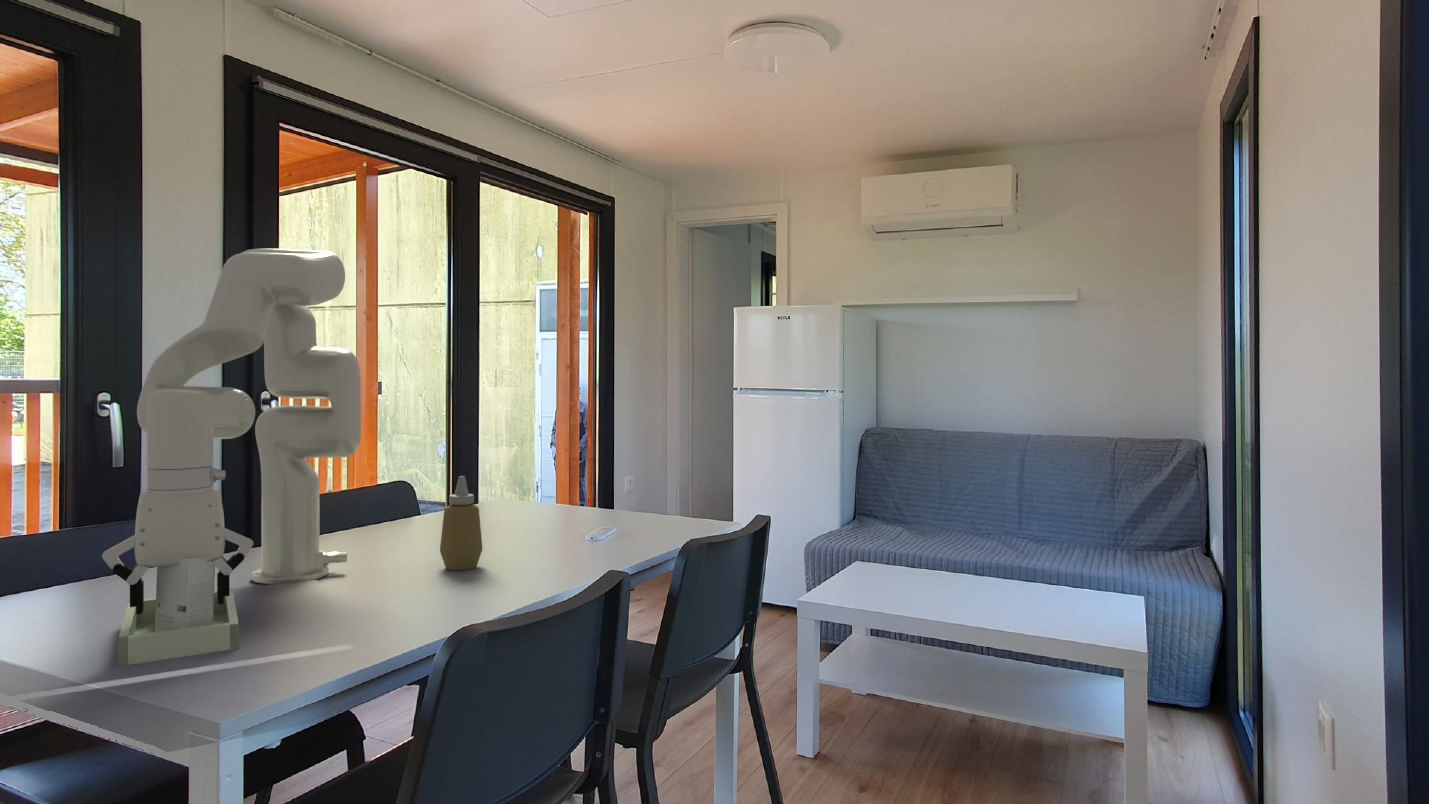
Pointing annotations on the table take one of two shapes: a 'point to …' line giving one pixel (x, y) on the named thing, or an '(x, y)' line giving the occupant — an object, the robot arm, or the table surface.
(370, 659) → the table surface
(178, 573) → the skincare box
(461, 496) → the squeeze bottle
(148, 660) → the tote
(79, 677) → the table surface
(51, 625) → the table surface
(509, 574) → the table surface
